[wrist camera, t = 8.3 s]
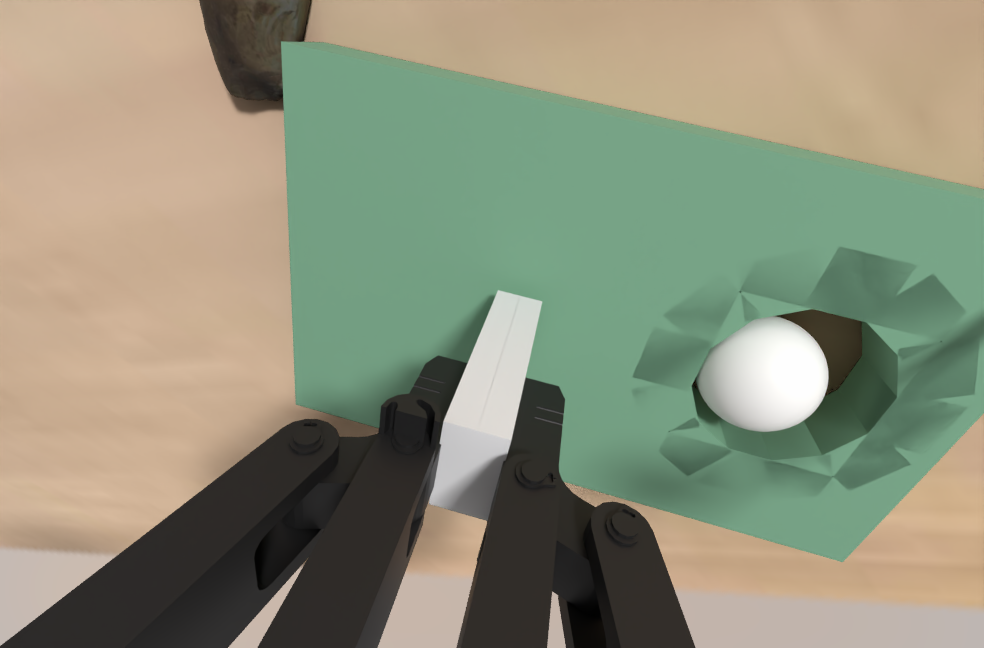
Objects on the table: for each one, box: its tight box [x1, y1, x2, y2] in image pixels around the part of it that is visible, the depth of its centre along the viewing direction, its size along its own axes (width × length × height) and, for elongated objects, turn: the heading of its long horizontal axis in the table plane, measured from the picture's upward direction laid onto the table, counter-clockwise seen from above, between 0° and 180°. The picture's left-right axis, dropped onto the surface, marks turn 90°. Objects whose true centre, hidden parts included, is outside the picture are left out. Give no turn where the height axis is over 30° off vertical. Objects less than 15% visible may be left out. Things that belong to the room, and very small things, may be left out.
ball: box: [696, 316, 829, 432], centre depth 17 cm, size 4×4×4 cm
